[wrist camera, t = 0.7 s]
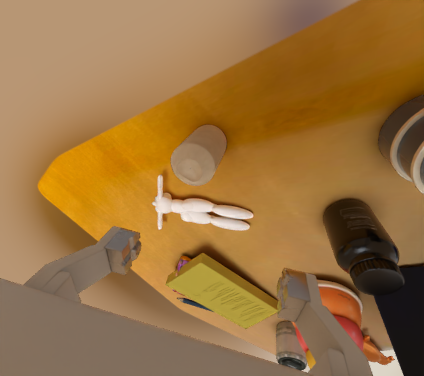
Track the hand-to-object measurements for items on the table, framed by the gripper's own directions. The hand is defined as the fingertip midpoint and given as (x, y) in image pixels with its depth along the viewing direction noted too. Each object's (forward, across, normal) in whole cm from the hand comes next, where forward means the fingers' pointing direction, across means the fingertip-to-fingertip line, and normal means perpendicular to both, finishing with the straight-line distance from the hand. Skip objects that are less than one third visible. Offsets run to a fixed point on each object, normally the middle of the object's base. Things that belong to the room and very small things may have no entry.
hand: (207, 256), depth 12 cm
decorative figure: (+23, +5, +14) cm, 28 cm away
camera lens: (+24, -19, +45) cm, 54 cm away
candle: (+23, +5, +2) cm, 24 cm away
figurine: (+23, -33, +48) cm, 63 cm away
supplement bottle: (+23, -18, +10) cm, 31 cm away
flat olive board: (+19, +8, +28) cm, 34 cm away
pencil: (+23, -4, +46) cm, 51 cm away
